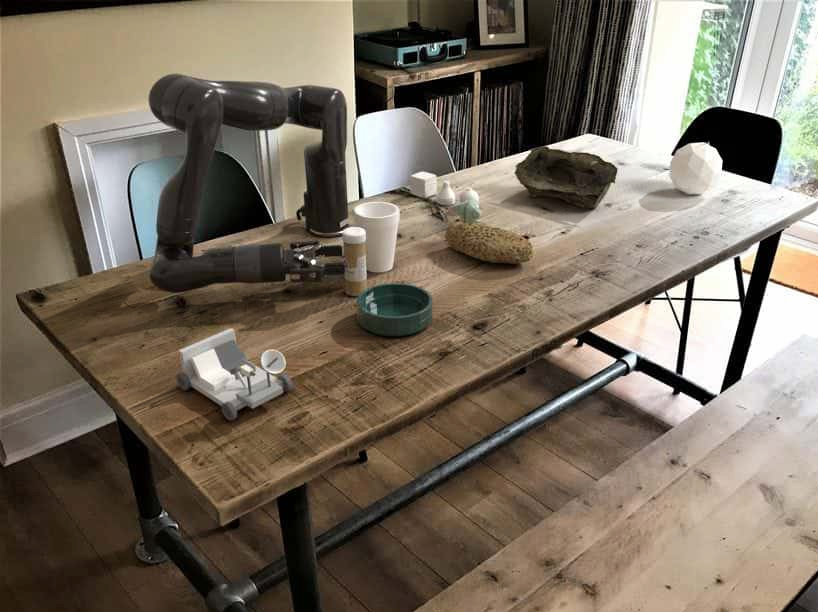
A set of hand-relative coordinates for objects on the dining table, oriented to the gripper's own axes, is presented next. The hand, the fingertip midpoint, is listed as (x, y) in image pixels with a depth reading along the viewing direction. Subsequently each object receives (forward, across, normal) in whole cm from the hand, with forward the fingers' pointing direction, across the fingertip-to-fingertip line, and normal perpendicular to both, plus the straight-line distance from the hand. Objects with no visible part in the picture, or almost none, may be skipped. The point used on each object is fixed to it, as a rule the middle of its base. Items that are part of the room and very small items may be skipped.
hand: (343, 259), depth 156 cm
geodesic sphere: (+98, +49, +8) cm, 110 cm away
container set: (+29, +49, +8) cm, 58 cm away
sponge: (+33, +14, +8) cm, 36 cm away
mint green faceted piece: (+32, +32, +8) cm, 45 cm away
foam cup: (+8, +12, +8) cm, 16 cm away
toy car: (-19, -34, +8) cm, 39 cm away
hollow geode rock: (+60, +45, +8) cm, 76 cm away
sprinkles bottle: (+2, 0, +8) cm, 8 cm away
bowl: (+9, -13, +8) cm, 17 cm away
